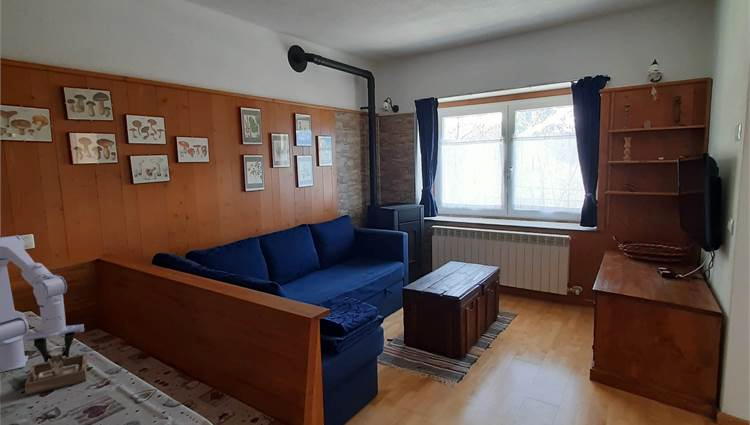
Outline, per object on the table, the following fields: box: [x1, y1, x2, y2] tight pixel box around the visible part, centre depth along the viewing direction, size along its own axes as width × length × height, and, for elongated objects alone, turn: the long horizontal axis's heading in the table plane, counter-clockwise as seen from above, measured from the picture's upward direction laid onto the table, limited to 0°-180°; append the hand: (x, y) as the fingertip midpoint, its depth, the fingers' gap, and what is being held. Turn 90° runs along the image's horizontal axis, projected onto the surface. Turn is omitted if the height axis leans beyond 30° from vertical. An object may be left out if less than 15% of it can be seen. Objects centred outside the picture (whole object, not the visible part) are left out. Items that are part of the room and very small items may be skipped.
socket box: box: [24, 353, 88, 397], centre depth 122 cm, size 14×14×4 cm
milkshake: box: [47, 345, 66, 377], centre depth 123 cm, size 4×5×10 cm
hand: (57, 358), depth 122 cm, fingers closed on milkshake, 4 cm apart
